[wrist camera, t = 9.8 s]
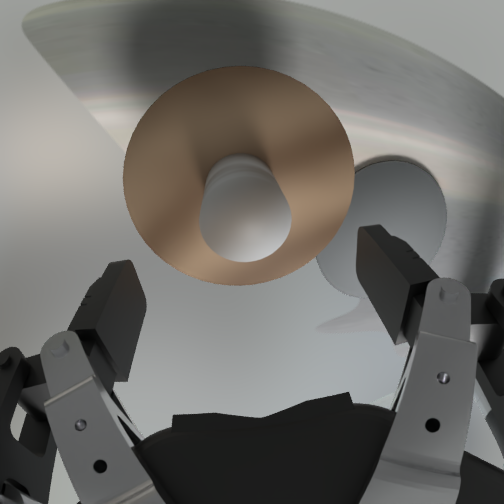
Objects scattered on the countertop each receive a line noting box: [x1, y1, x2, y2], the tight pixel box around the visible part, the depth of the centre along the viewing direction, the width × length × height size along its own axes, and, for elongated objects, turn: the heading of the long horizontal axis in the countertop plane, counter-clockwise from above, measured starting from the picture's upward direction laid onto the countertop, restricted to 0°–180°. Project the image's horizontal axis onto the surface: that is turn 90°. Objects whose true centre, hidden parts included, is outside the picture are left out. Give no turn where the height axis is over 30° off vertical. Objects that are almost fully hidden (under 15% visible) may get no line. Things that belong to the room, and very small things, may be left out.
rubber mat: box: [316, 161, 447, 298], centre depth 32 cm, size 17×17×1 cm
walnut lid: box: [123, 66, 355, 285], centre depth 16 cm, size 14×14×6 cm
